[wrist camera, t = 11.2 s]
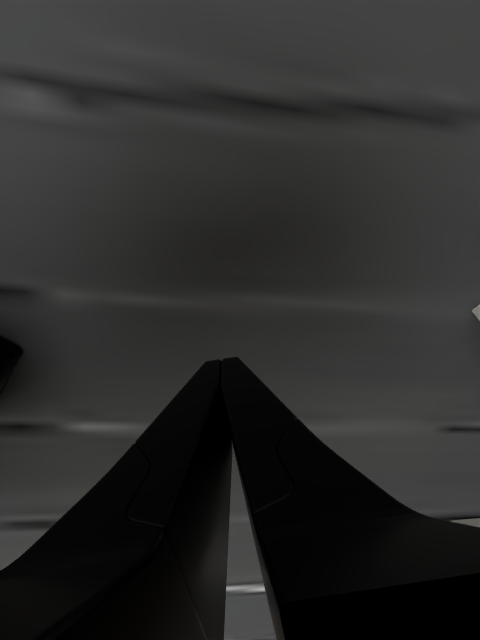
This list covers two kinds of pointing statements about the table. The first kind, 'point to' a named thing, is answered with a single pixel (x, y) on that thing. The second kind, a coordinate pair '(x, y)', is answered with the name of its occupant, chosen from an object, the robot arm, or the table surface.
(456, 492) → the table surface
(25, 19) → the table surface
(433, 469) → the table surface
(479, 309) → the grey faceted lump
